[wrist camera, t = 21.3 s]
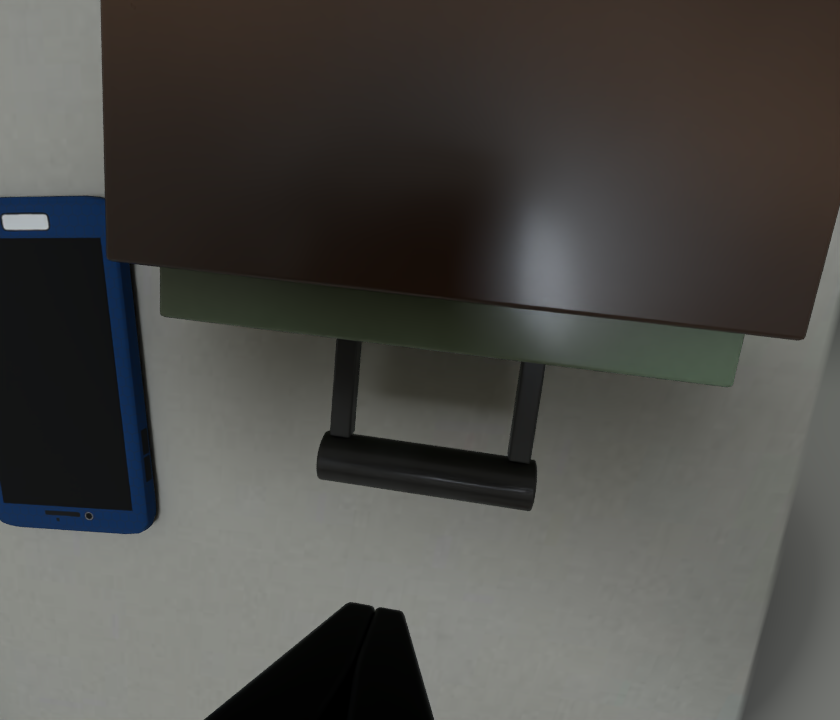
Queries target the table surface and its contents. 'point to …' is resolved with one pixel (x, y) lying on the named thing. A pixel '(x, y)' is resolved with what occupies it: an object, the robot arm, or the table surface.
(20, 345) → the cell phone
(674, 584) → the table surface
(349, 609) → the robot arm
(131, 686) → the table surface
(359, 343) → the drawer
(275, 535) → the table surface
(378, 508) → the table surface
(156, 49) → the cabinet
